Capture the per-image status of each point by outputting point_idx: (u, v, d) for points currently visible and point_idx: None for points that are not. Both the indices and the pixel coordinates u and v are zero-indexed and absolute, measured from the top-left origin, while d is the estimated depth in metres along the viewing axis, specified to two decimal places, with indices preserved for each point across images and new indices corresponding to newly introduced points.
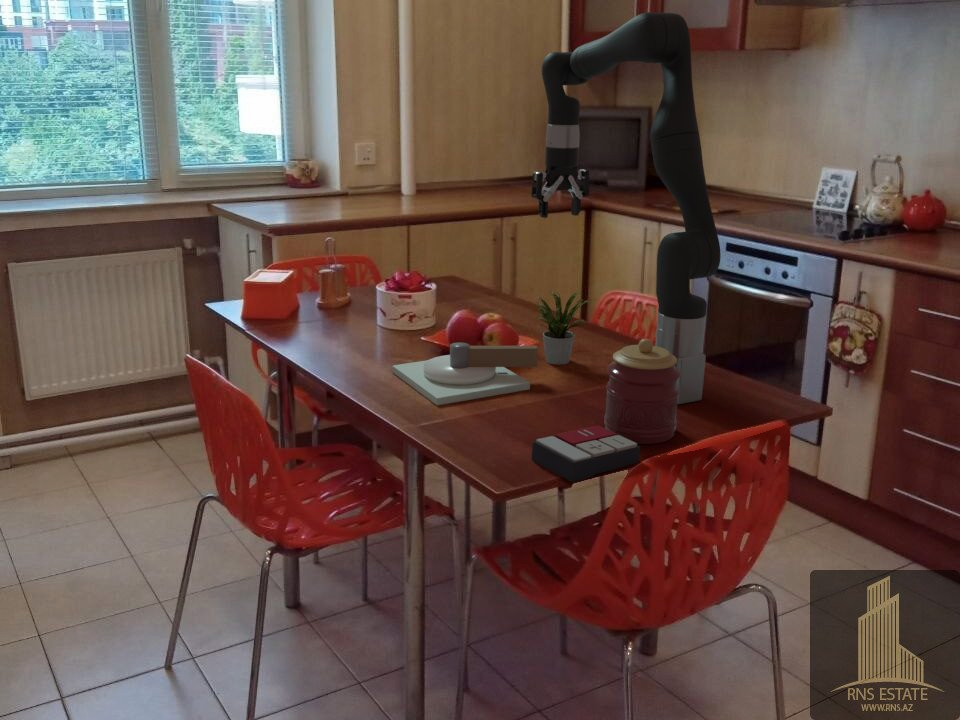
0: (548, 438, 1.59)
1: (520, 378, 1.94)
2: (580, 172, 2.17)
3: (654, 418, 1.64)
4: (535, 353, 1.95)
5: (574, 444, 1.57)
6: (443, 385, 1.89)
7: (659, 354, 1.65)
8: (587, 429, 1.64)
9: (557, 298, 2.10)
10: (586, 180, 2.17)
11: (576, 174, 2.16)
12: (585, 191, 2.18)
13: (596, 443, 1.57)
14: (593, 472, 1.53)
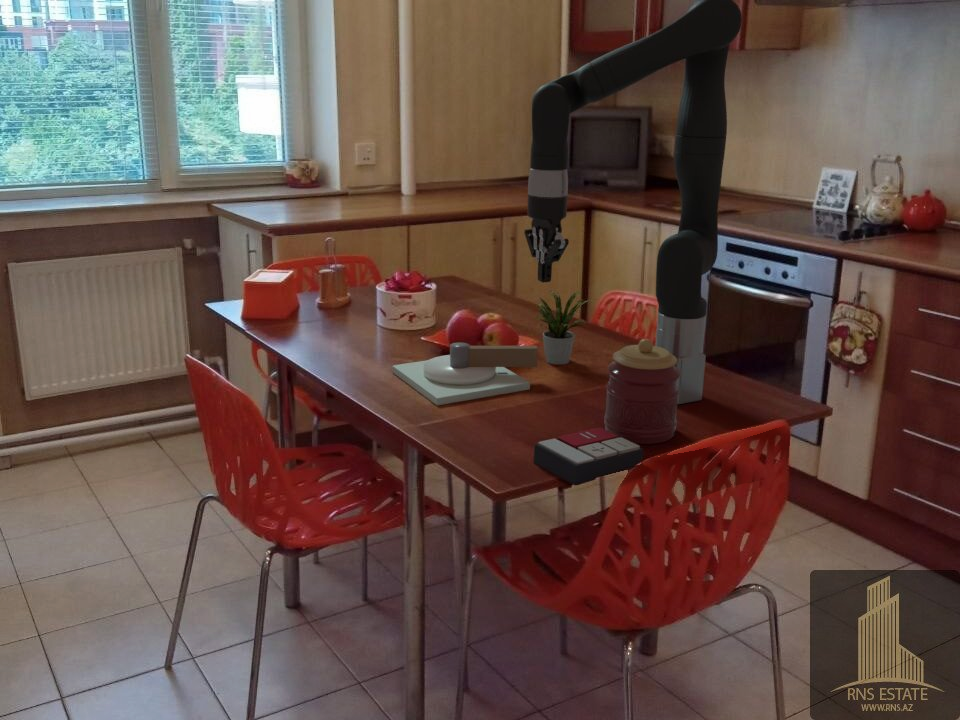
0: (550, 441, 1.58)
1: (520, 378, 1.94)
2: None
3: (654, 418, 1.64)
4: (535, 353, 1.95)
5: (576, 447, 1.56)
6: (443, 385, 1.89)
7: (659, 354, 1.65)
8: (589, 431, 1.62)
9: (557, 298, 2.10)
10: None
11: None
12: None
13: (598, 446, 1.56)
14: (596, 475, 1.52)
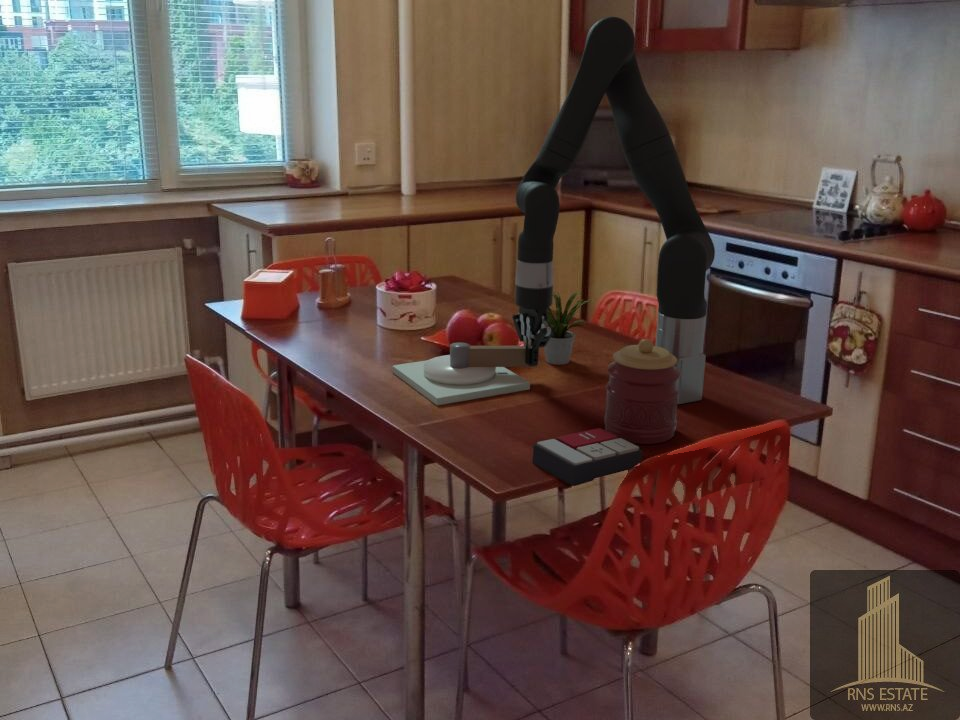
0: (549, 441, 1.58)
1: (520, 378, 1.94)
2: None
3: (654, 418, 1.64)
4: None
5: (575, 447, 1.56)
6: (443, 385, 1.89)
7: (659, 354, 1.65)
8: (589, 432, 1.62)
9: (557, 298, 2.10)
10: None
11: None
12: None
13: (597, 446, 1.56)
14: (594, 476, 1.52)
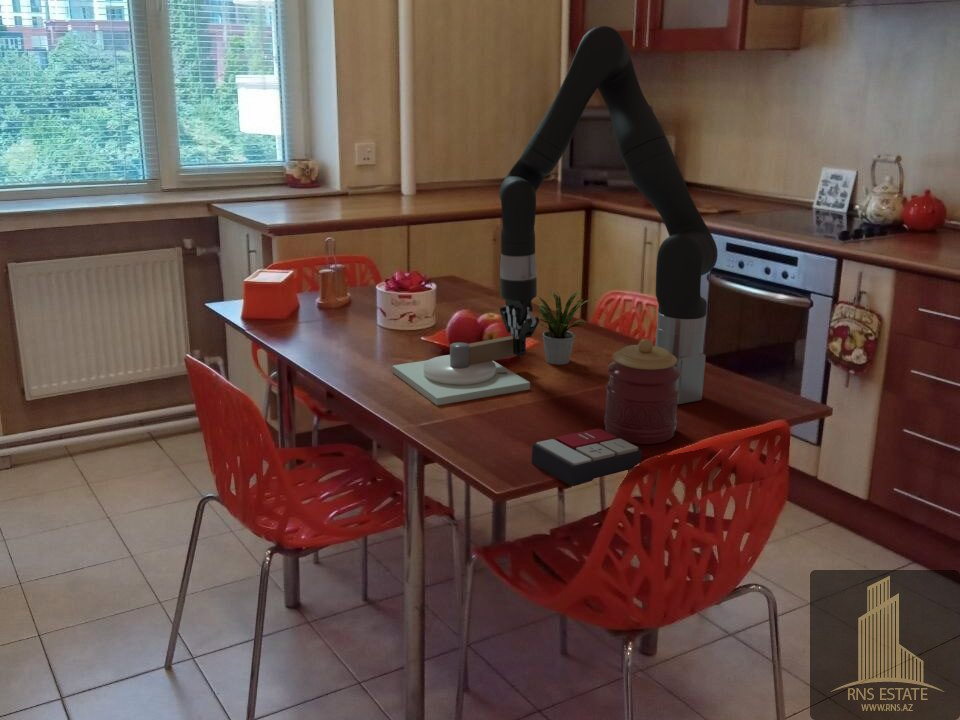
0: (548, 441, 1.57)
1: (520, 378, 1.94)
2: None
3: (654, 418, 1.64)
4: None
5: (574, 447, 1.56)
6: (443, 385, 1.89)
7: (659, 354, 1.65)
8: (588, 432, 1.62)
9: (557, 298, 2.10)
10: None
11: None
12: None
13: (597, 446, 1.56)
14: (593, 476, 1.52)
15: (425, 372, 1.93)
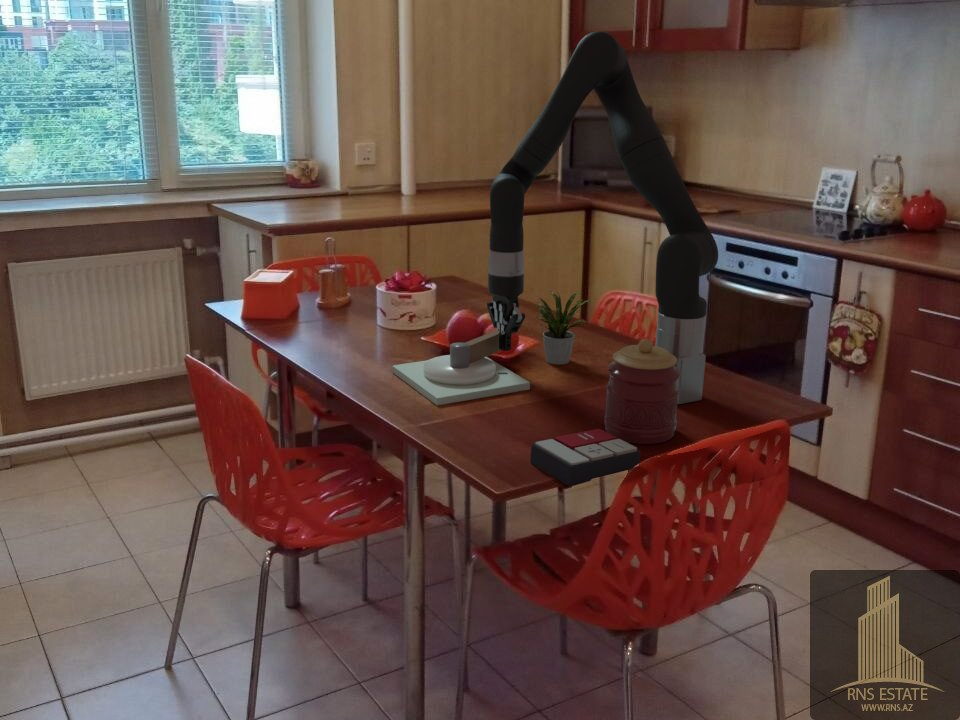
0: (547, 441, 1.58)
1: (520, 378, 1.94)
2: None
3: (654, 418, 1.64)
4: None
5: (573, 447, 1.56)
6: (443, 385, 1.89)
7: (659, 354, 1.65)
8: (588, 432, 1.62)
9: (557, 298, 2.10)
10: None
11: None
12: None
13: (595, 447, 1.56)
14: (591, 476, 1.51)
15: (431, 376, 1.91)
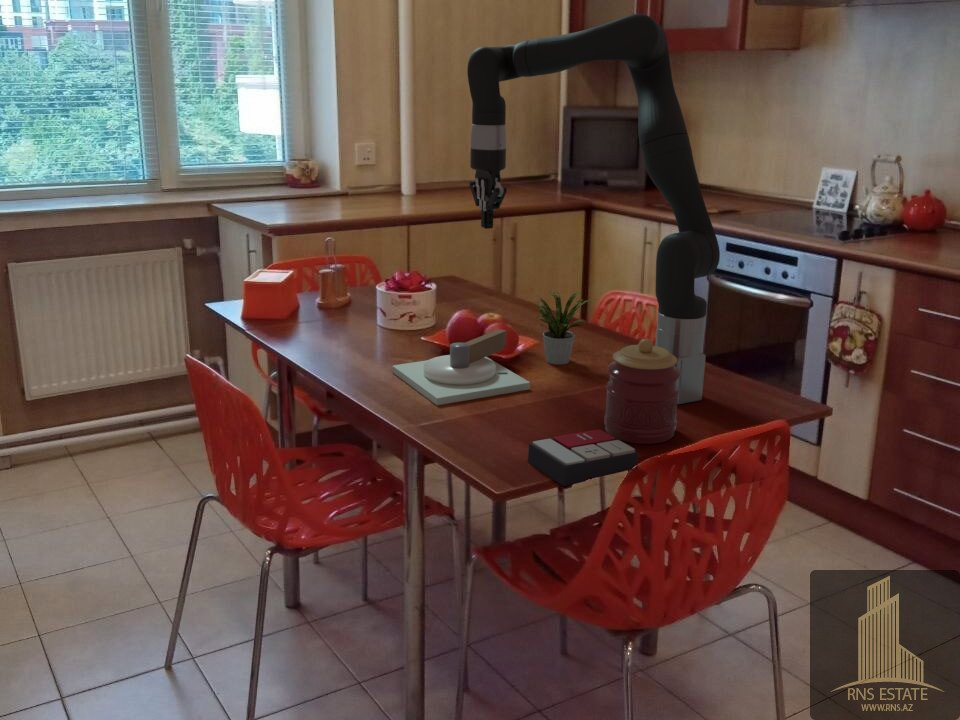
0: (545, 440, 1.58)
1: (520, 378, 1.94)
2: None
3: (654, 418, 1.64)
4: (505, 335, 2.06)
5: (570, 447, 1.56)
6: (443, 385, 1.89)
7: (659, 354, 1.65)
8: (587, 433, 1.62)
9: (557, 298, 2.10)
10: None
11: None
12: None
13: (592, 447, 1.56)
14: (586, 476, 1.51)
15: (431, 376, 1.91)
